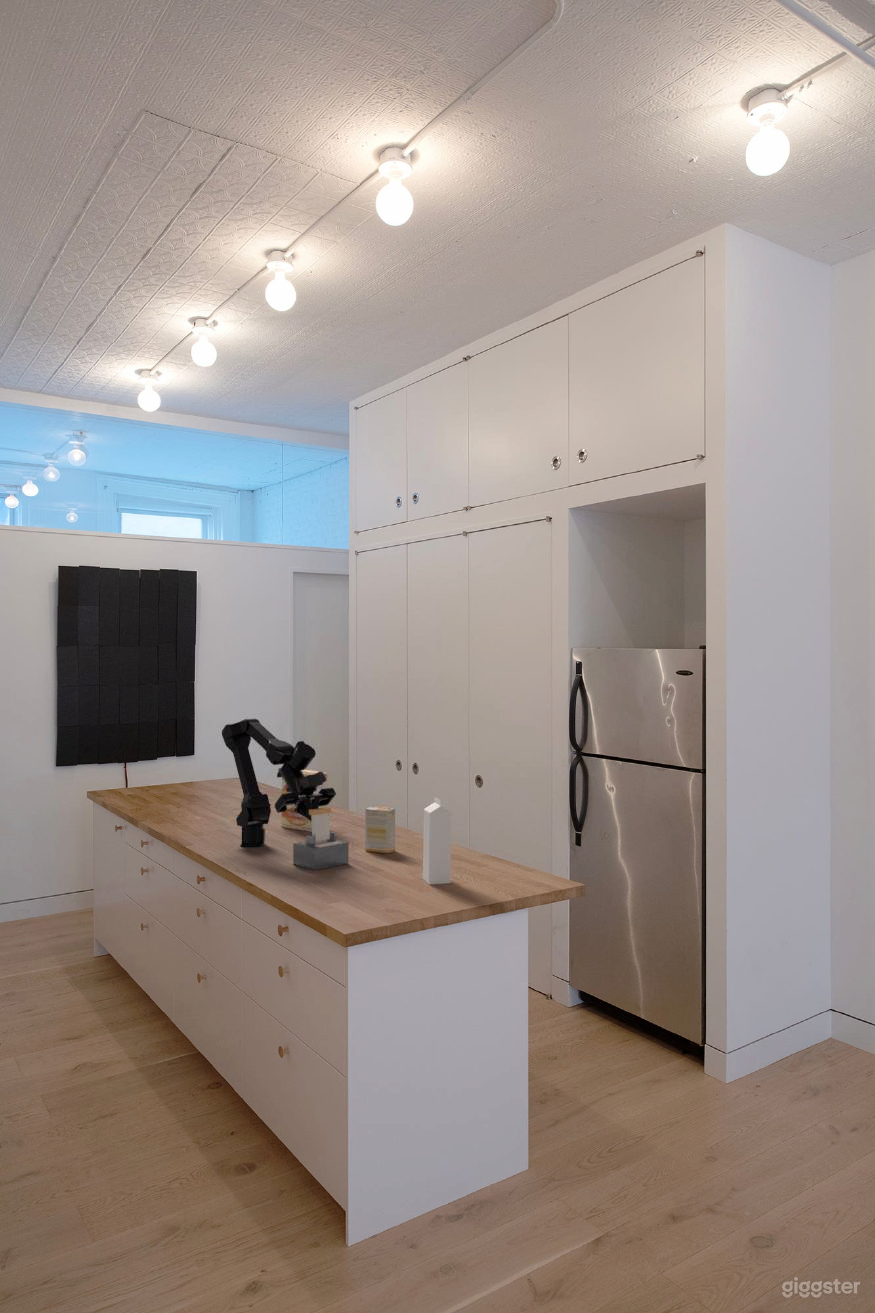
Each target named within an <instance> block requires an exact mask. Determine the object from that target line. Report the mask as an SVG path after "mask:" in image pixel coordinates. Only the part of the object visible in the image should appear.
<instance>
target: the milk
mask: <svg viewBox="0 0 875 1313" xmlns="http://www.w3.org/2000/svg"><path fill="white" fill-rule="evenodd" d="M422 842H423V844H422V845H423V848H422V849H423V850H422V851H423V852H422V853H423V856H422V858H423V861H422V862H423V863H422V864H423V865H422V880H424V881H425V882H426V883H427V885H433V886H434V885H443V884H446V885H447V884H451V882H452V881H451V880H452V879H451V874H452V873H451V871H452V868H451V867H452V863H451V862H452V811H451V810H449V809H447V808H445V807H444V806H442V800H441V799H439V798H437V797H436V796H435V797H434V802H433V803H431V804H430V805H428V806H426V807H425V808H423V841H422Z"/></svg>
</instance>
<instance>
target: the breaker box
mask: <svg viewBox="0 0 875 1313" xmlns="http://www.w3.org/2000/svg"><path fill="white" fill-rule="evenodd" d="M329 832H330V839H327V840H322V841H316V842H315V837H313V836H312V835H306V836H305V840H303V841H299V842H293V847H292V849H293V851H292V852H293V854H292V855H293V856H292V860H293V861H292V864H293V865H294V864H296V865H295V866H297V865H298V866H299V867H301V866H302V868H304V867H305V868H306V869H308V868H309V869H308V870H311V869H312V871H314V870H316V871H320V870H324V868H325V869H330V868H334V867H333V866H335V867H338V866H344V865H348V864H349V848H350V847H349V846H350V845H349V844H350V842H348V841H344V840H340V839H337V833H336V832H333V831H329ZM343 864H344V865H343ZM298 866H297V867H298ZM305 868H304V869H305Z"/></svg>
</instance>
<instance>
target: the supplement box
mask: <svg viewBox="0 0 875 1313" xmlns="http://www.w3.org/2000/svg"><path fill="white" fill-rule="evenodd" d="M364 810H365V811H364V813H365V817H364V818H365V819H364V820H365V828H364V830H365V833H364V834H365V835H364V837H365V839H364V841H365V846H364V848H365V849H364V851H365V852H371V853H379V854H381V853H382V854H391V853H393V852H395V851H396V808H393V807H385V806H383V807H382V806H370V807H367V808H365V809H364Z"/></svg>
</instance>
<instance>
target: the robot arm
mask: <svg viewBox="0 0 875 1313" xmlns="http://www.w3.org/2000/svg"><path fill="white" fill-rule="evenodd" d="M221 736H222V739H223V742H224V744H225V747H226V748H228V750H230V752H231V753H232V754H233V759H234V762H235V768H236V769H237V774H238V778H239V782H240V786H241V789H242V795H243V798H242V801H241V803H240V804H241V805H240V807H241V811H240V813H238V815H237V817H236V819H235V822H236V825H237V827H241V843H240V847H262V846H263V845H264V843H265V842H266V828H264V825H268V824H269V822H270V817H271V813H272V809H271V806H272V804H270V801H269V796H268V794H267V793H264V794H263V793H262V792H261V790H260V788H259V784H258V780H257V777H256V772H255V769H254V764H253V760H252V757H251V752H250V749H249V747H250V744H251V740H252V739H253V740H254V741H255V742H256V743H257V745H259V746H260V747H261V748H262V749H263V750H264V751H265V757H266V759H267V760H268V761H269V763H271V765H273V766H276V765H277V766H278V765H279V766H280V765H281V767H278V771H277V773H276V777H277V778H282V777H283V778H284V780H285V782H286V784H287V786H288V788H287V789H286V791H287V792H291V793H285V794H282V793H281V795H280V796H279V797H278V799H277V800H276V802H275V803H274V809H275V810H276V812H277V813H278V814H279V813H282V812H285V811H286V810H287V807H286V805H294V804H295V807H296V809H295V810H294V812H297V813H299V814H301V815H303V816H304V817H306V818H307V819H309V820H310V821H312V819H311V815H309V810H311V809H317V808H319V807H320V806H326V805H327V806H328V805H329V804H331V801H332V800H333V799H334V798H335V797H336V795H337V793H336V791H335V788H334V787H327V788H323V789H321V790H320V791H319V793H318V794H314V793H313V792H315V791H316V790H317V788H316V787H317V786H319V785H322V784H323V782H325V781H326V777H325V775H324V773H323V771H318V772H317V773H315V774H312V775H308V776H304V774H303V772H302V770H307V768H308V767H309V766H310V764H311V762H312V761H313V760H314V758H315V757H316V754H317V753H316V750H315V749H314V748H313V747H312V746H311V745H309V744H307V743H305V741H304V740H301V741H297V742H296V744H295V746H293V745H292V744H291V743H289V742H287V741H284V740H280V739H278V738H277V737H276V736H274V734H272V733H271V732H270V731H269V729H267V728H266V727H265V726H264V725H262V723H261V721H260V720H259V719H257V718H245V719H243V720H240V721H238V722H235V723H228V724H225V725H224V727H223V729H222V731H221Z"/></svg>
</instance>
